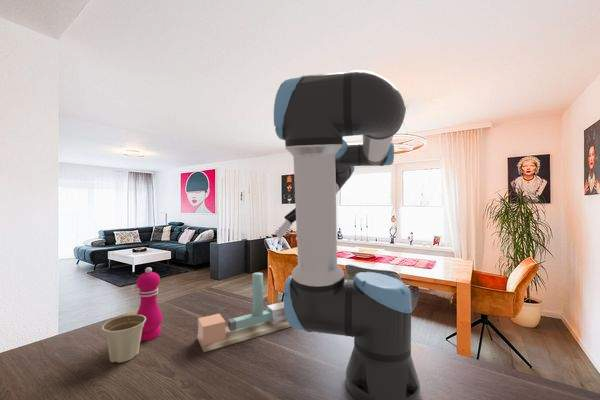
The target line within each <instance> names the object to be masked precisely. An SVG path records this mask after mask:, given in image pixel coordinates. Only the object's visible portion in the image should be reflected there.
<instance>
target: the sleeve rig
mask: <svg viewBox="0 0 600 400" xmlns="http://www.w3.org/2000/svg"><path fill="white" fill-rule="evenodd" d="M266 310H270V311H272V320H271V321H267V322H263V323H259V324H256V325H252V326H248V327H245V328H241V329H237V330H234V331H230V330H229V329H228V326H225V340H222V341H219V342H215V343H211V344H208V345H204V346H203V345H202V343H201V341H200V339H199V337H198V333H197V337H196V338H197V341H198V343H199V345H200V348H201V350H202V352H203V353H206V352H210V351H212V350H213V351H214V350H216V349H219V348H223V347H227V346H230V345H233V344H236V343H240V342H243V341H247V340H250V339H254V338H258V337H260V336H264V335H268V334H270V333H274V332H277V331H281V330H284V329H288V328H292V326H291V325H290V324H289V323H288V321H287V319H286V315H285V311H284V302H283V301H281V302H277V303H272V304H269V305H267V304H266Z"/></svg>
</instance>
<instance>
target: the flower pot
mask: <svg viewBox="0 0 600 400" xmlns="http://www.w3.org/2000/svg"><path fill="white" fill-rule="evenodd" d="M145 321H146V317H145V316H143V315H136V314H127V315H122V316H118V317H115V318H112V319H109V320H108V321H106V322H105V323H104V324H102V326H101V330H102V331H103V333H104V336H105V338H106V344H107V351H108V352H107V353H108V356H109V361H110V363H118V364H119V363H125V362H128V361H131V360H132V359H134V358H135V357H136V356H137V355H139V352H140V345H141V341H140V340H141V334H142V328H143V326H144V323H145Z"/></svg>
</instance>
